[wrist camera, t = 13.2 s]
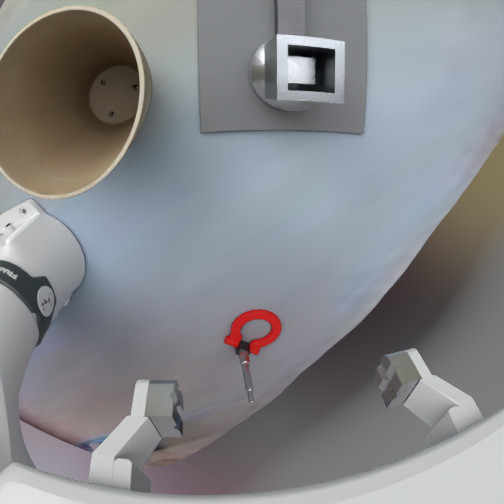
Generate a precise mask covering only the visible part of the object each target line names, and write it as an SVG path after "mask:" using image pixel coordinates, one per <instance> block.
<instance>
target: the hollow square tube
mask: <svg viewBox="0 0 504 504" xmlns="http://www.w3.org/2000/svg"><path fill="white" fill-rule="evenodd" d="M288 54H290V55H303V56H312V58H315V84H314V85H312V88H311V91H293V90H288ZM264 58H265V98H267V99H273V100H292V101H312V102H327V103H338V104H344V83H345V42H344V41H338V40H331V39H324V38H316V37H307V36H296V35H282V34H276V35H275V36H274V37H273V38H272V39H271V40H270V41H269V42H268V43H267V44H266V45H265V46H264Z"/></svg>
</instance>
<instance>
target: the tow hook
mask: <svg viewBox="0 0 504 504" xmlns="http://www.w3.org/2000/svg"><path fill="white" fill-rule="evenodd" d="M254 319H263V320H266V321H268V322H269V323H270V324H271V325H272V329H271V331H270V333H269V334H268V335H267V336H266V337H264V338H262V339H258V340H253V341H252V342H251V343H250V344H249V343H247V342H244V341H241V340H242V335H241V333H240V330H241V328H242V326H243V325H244V324H245V323H247V322H248V321H251V320H254ZM280 332H281V323H280V320H279V318H278V317H277V316H276V315H275V314H274V313H272V312H270V311H267V310H252V311H248V312H245V313H243V314H241V315H240V316H239V317H237V318H236V319H235V321H234V322H233V324H232V326H231V334H230V335H229V336H226V337H225V339H224V343H225V344H228V345H231V346H233V347H235V351H236V354H237V355H239V358H240V365H241V366H242V370H243V377H244V383H245V389H246V393H248V399H249V403H250V404H253V403H254V398H253V392H254V390H253V385H252V379H251V373H250V368H249V365H250V361H249V354H250V353H252V354H255V355H257V354H258V353H259V349H260V348H261V347H264V346H266V345H268V344H270V343H272V342H273V341H275V340H276V338H277V337H278V336H279V334H280Z"/></svg>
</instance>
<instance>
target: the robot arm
mask: <svg viewBox="0 0 504 504" xmlns="http://www.w3.org/2000/svg"><path fill="white" fill-rule="evenodd" d="M24 209H25V210H26V212H25V210H24ZM84 275H85V259H84V255H83V252H82V249H81V247H80V245H79V243H78V241H77V239H76V238H75V236H74V235H73V234H72V232H71V231H70V230H69V229H68V228H67V227H66V226H65V225H64V224H62V223H61V222H60V221H58V220H57V219H55V218H53V217H51V216H50V215H48V214H46V213H45V212H44V211H43V210H42V208H41V207H40V206H39V205H38V204H37V203H36V202H35V201H34V200H32V199H29V200H27V201H25V202H23V203H21V204H19V205H17V206H15V207H13V208H11V209H9V210H7V211H5V212H4V213H2V214H0V504H504V406H503V407H502V408H500V409H499V410H497V411H496V412H494V413H492V414H491V415H489V416H488V417H486V418H483V417H482V415H481V413H480V411H479V409H478V407H477V406H476V404H475V402H474V400H473V399H472V397H470V396H469V395H467V394H465V393H464V392H462V391H460V390H459V389H457V388H455V387H454V386H452V385H450V384H449V383H447V382H445V381H444V380H442V379H440V378H439V377H437V376H435V375H433V376H432V375H431V373H430V371H429V370H428V368H427V366H426V364H425V363H424V361H423V359H422V358H421V356H420V354H419V353H418V351H417V350H416V349H414V348H412V349H409V350H405V351H400V352H396V353H393V354H388V355H385V356H383V357H382V359H381V363H382V364H381V365H380V366H379V367H378V368H377V370H376V372H375V381H376V384H377V387H378V388H379V389H380V390H382V391H383V394H382V398H383V400H384V402H385V405H386V407H387V408H390V407H394V406H397V405H400V404H404V405H405V406H406V407H407V408H408V409H410V410H411V411H412V412H413V413H414V414H415V415H417V416H418V417H419V418H420V419H422V420H423V421H424V422H425V423H426V424H428V425H429V426H430V427H431V429H430V430H429V431H428V432H427V433H426V434H425V437H424V438H425V440H426V443H427V445H428V448H426V449H424V450H422V451H419V452H417V453H414V454H412V455H410V456H407V457H404V458H402V459H400V460H397V461H394V462H391V463H388V464H385V465H382V466H379V467H377V468H374V469H370V470H367V471H364V472H361V473H357V474H353V475H350V476H346V477H343V478H338V479H334V480H330V481H326V482H321V483H316V484H311V485H306V486H301V487H295V488H289V489H282V490H275V491H268V492H258V493H246V494H231V495H173V494H158V493H151V479H150V478H149V477H147V476H146V475H145V474H144V473H143V472H142V471H141V470H140V469H141V468H142V466H143V465H144V463H145V462H146V461H147V459H148V458H149V456H150V455H151V453H152V452H153V450H154V449H155V448H156V446H157V445H158V443H159V442H160V440H161V439H162V438H161V437H183V422H182V419H181V417H180V416H181V415H182V414H183V398H182V394H181V391H179V390H178V383H177V380H137V382H136V385H135V391H134V397H133V404H132V410H131V416H126V417H125V419H124V420H123V421H122V422H121V423H120V424H119V425H118V426H117V427H116V428H115V429H114V431H113V432H112V433H111V434H110V435H109V436H108V437H107V438H106V439H105V440H104V441H103V443H102V444H101V445H100V446H99V447H98V448H97V449H96V450H95V451H94V452H93V454H92V460H91V466H90V474H89V481H88V483H86V482H81V481H77V480H73V479H69V478H65V477H62V476H58V475H55V474H52V473H48V472H45V471H42V470H39V469H37V468H36V467H35V465H34V463H33V462H32V460H31V458H30V456H29V454H28V451H27V449H26V446H25V444H24V440H23V436H22V432H21V427H20V420H19V393H20V388H21V383H22V380H23V377H24V374H25V371H26V368H27V366H28V363H29V360H30V358H31V355H32V353H33V351H34V349H35V347H37V346H38V345H39V344H40V343H41V341H42V339H43V338H44V337H45V335H46V332H47V330H48V328H49V326H50V324H51V323H52V321H53V320H54V318H55V317H56V315H57V314H58V312H59V311H60V310H61V308H62V307H65V306H67V304H68V303H69V302H70V299H71V295H72V293H73V291H74V290H75V289H76V288H77V287H78V286H79V285H80V284H81V282H82V281H83V278H84Z"/></svg>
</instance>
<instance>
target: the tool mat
mask: <svg viewBox="0 0 504 504" xmlns="http://www.w3.org/2000/svg"><path fill="white" fill-rule="evenodd" d="M274 36H275V16H274V0H198V53H199V92H200V117H201V133H202V132H218V131H240V130H309V131H331V132H347V133H359V134H364V124H365V107H366V84H367V23H366V1H365V0H305V36H307V37H316V38H324V39H331V40H338V41H344V42H345V83H344V104H338V103H327V102H319V103H318V104H317V105H315V106H313V107H311V108H309V109H306V110H301V111H287V110H282V109H279V108H276V107H273V106H271V105H269V104H267V103H266V102H264V101H263V100H262V99H260V97H259V96H258V95H257V94H256V93H255V91H254V90H253V88H252V86H251V83H250V80H249V73H248V71H249V64H250V61H251V58H252V56H253V54H254V53H255V52H256V50H257V49H258V48H259V47H260V46H261V45H262V44H263V43H264V42H266V41H267V40H269V39H271V38H273V37H274Z"/></svg>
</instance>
